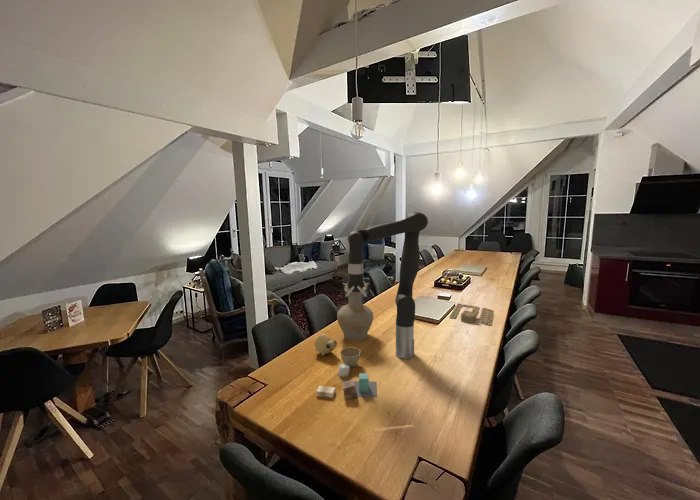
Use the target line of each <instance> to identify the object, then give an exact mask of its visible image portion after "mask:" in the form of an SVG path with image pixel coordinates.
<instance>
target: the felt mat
mask: <svg viewBox="0 0 700 500" xmlns="http://www.w3.org/2000/svg"><path fill="white" fill-rule="evenodd" d="M377 383H378V382H377V381H371V380H370V381H369V392H359V380H357V381H356V380H354V384H355V388H356V393H357V397H356V398H378V385H377Z"/></svg>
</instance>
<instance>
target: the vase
mask: <svg viewBox="0 0 700 500" xmlns="http://www.w3.org/2000/svg"><path fill="white" fill-rule="evenodd" d="M363 289H364V291H365V292H366V291H367V288H366V286H364V287H363ZM348 290H349V287H348V286H346V288H345V293H347V291H348ZM362 295H363V294H362V293H361V292H352V291H351V293H350V294H349V295H348V296H349V304H347V303H346V304H345V305H343V306H342V307H341V308H339V309H338V311H337V314H336V319H337V324H338V325H339V327H340V329H341V332H342V334H343V338H344V339H345V340H347V341H350V342H361V341H364V340H366V339H367V337H368V333H369V331H370V328H371V327H372V324H373V320H374V312H373V310H372V309H371V308H370V307H369V306H367V305H366V304H364V303H363V302H362V301H363V300H362Z"/></svg>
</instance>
